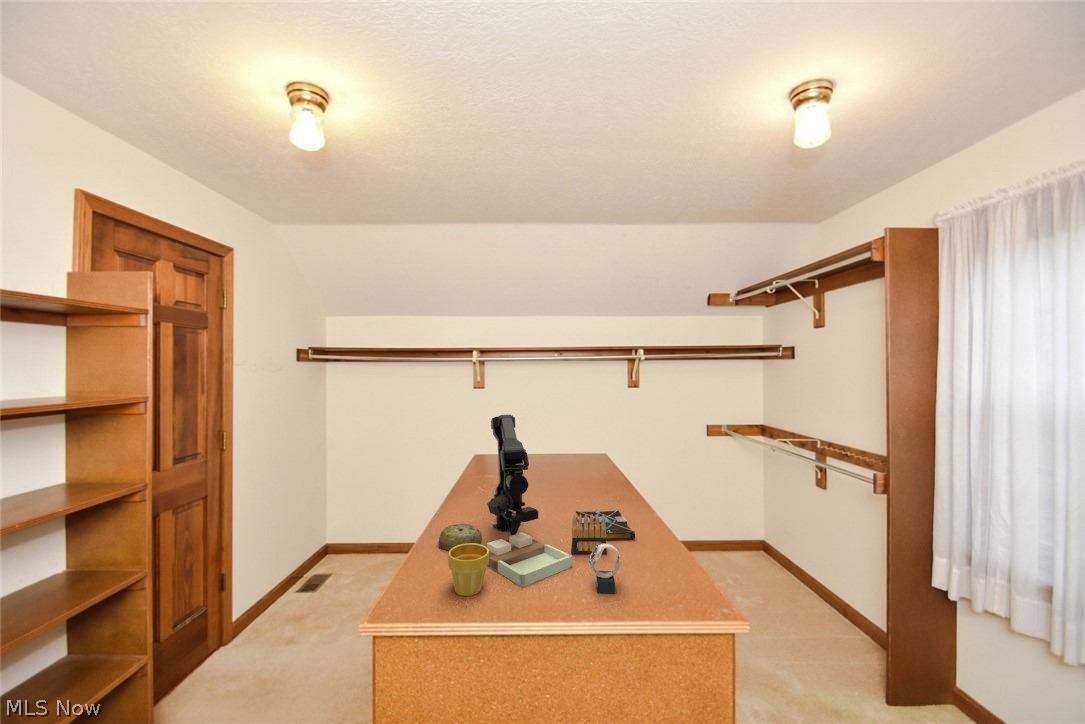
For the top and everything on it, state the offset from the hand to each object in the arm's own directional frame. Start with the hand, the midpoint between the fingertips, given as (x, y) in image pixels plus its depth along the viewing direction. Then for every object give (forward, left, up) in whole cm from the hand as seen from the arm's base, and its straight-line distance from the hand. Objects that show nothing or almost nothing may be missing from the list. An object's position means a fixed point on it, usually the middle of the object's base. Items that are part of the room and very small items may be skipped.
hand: (513, 535), depth 137 cm
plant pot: (+13, -24, -4) cm, 28 cm away
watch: (+35, +3, -4) cm, 36 cm away
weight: (-14, -11, -4) cm, 18 cm away
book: (+8, +34, -4) cm, 35 cm away
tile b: (+4, -8, -1) cm, 9 cm away
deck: (+5, -4, -4) cm, 7 cm away
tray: (+16, -4, -4) cm, 17 cm away
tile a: (+4, 0, -1) cm, 4 cm away
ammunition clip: (+18, +15, -4) cm, 24 cm away
